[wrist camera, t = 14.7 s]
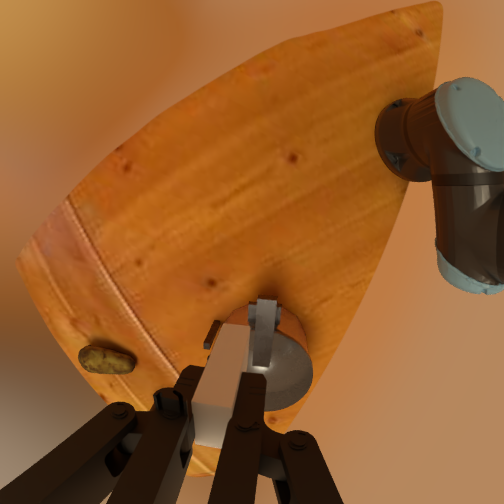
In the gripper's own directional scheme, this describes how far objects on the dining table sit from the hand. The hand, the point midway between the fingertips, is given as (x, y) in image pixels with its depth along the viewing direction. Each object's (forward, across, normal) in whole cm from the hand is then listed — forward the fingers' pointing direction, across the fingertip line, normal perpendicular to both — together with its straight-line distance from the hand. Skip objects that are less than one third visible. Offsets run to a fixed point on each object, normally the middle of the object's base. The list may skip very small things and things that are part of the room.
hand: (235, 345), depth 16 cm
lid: (+24, +1, -17) cm, 30 cm away
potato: (+35, -33, -30) cm, 56 cm away
